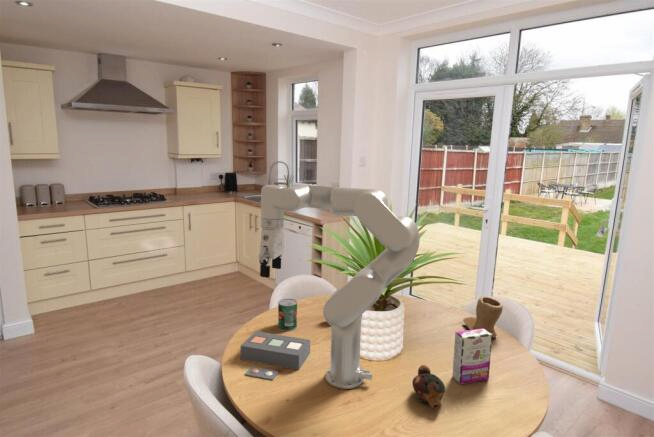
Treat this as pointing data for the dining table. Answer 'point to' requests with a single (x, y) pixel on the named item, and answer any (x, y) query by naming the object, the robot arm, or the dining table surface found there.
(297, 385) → the dining table surface
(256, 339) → the terracotta key
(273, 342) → the sage key
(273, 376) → the card
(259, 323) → the dining table surface
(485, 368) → the candy bar box
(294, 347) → the off-white key
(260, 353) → the keypad housing
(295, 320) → the canned tomato
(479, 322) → the tan boot
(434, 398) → the decorative turtle
